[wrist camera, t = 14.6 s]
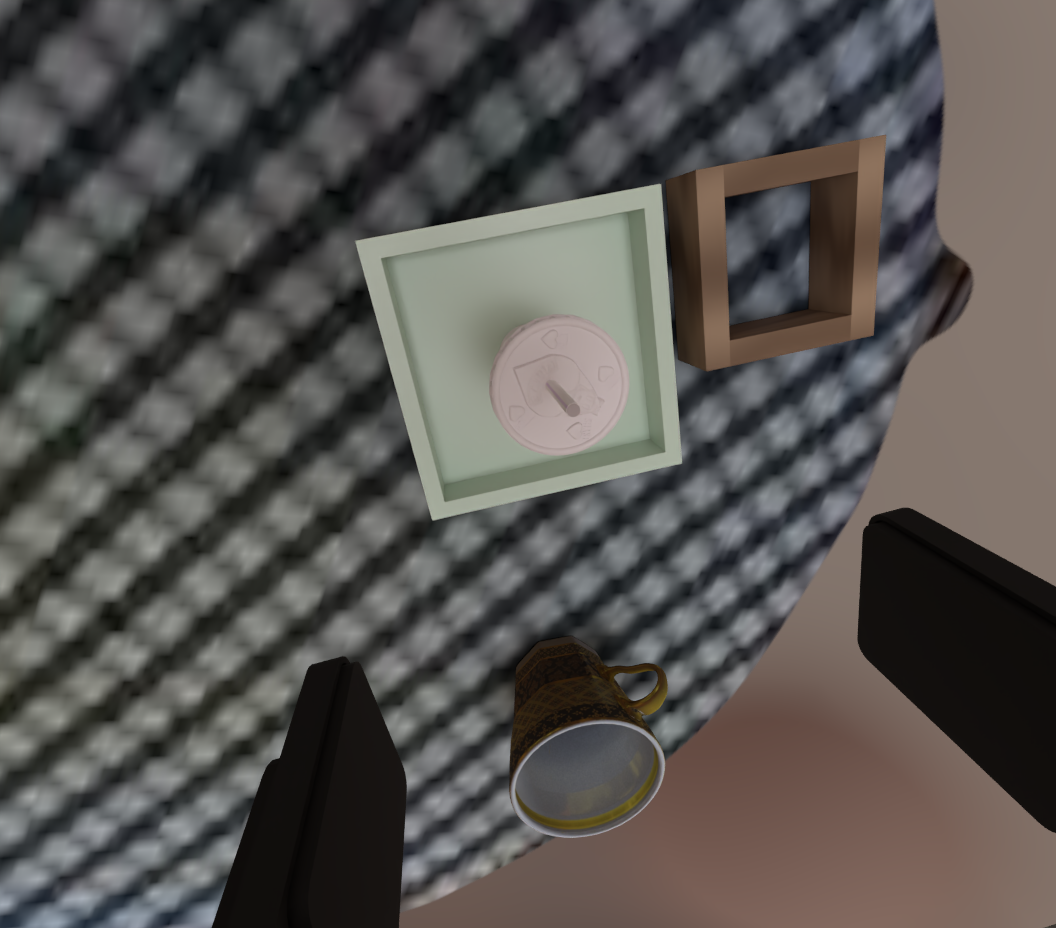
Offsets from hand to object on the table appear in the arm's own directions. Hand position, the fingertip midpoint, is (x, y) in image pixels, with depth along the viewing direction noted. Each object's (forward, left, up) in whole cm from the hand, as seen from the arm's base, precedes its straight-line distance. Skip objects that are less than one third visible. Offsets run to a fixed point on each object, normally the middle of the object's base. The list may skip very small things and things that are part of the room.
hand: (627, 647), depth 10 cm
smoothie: (-1, +2, -26) cm, 26 cm away
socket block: (-4, +17, -26) cm, 31 cm away
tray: (-1, +2, -26) cm, 26 cm away
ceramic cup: (+23, +1, -26) cm, 35 cm away
